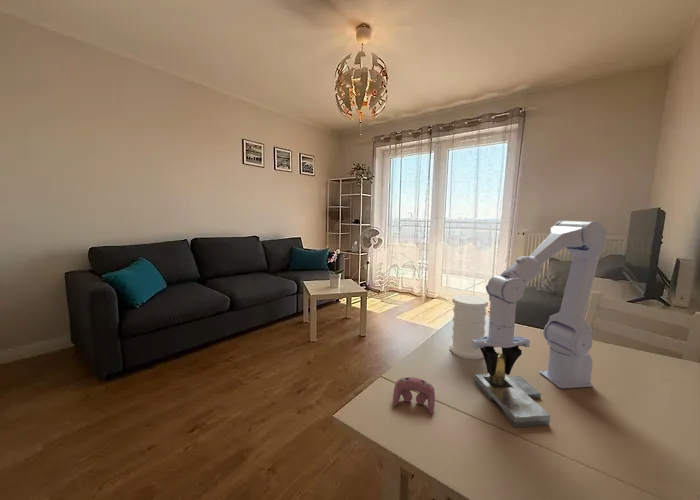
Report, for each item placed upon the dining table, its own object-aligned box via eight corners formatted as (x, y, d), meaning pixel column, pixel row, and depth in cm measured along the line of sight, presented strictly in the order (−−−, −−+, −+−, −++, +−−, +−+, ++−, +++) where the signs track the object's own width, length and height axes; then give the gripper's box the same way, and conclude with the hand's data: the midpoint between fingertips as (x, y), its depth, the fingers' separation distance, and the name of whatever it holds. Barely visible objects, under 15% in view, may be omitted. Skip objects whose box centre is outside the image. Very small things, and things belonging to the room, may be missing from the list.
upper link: (502, 381, 81) (503, 372, 81) (549, 425, 64) (550, 415, 64) (474, 382, 80) (475, 374, 80) (514, 427, 64) (515, 417, 63)
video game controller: (434, 412, 71) (436, 380, 73) (433, 415, 67) (435, 382, 69) (393, 403, 74) (396, 374, 76) (391, 406, 70) (393, 374, 72)
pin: (500, 377, 78) (502, 352, 78) (507, 385, 75) (508, 359, 74) (487, 377, 79) (488, 352, 78) (492, 384, 75) (494, 358, 74)
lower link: (519, 380, 82) (519, 376, 81) (540, 398, 74) (540, 393, 73) (474, 382, 80) (474, 378, 80) (491, 401, 72) (491, 396, 72)
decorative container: (488, 348, 101) (491, 297, 98) (483, 363, 91) (486, 306, 89) (453, 340, 107) (456, 292, 104) (445, 353, 97) (447, 300, 95)
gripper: (518, 316, 79) (514, 363, 81) (466, 318, 78) (464, 366, 79) (537, 326, 72) (532, 378, 74) (480, 328, 71) (477, 381, 73)
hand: (498, 373), depth 76 cm, fingers closed on pin, 4 cm apart
